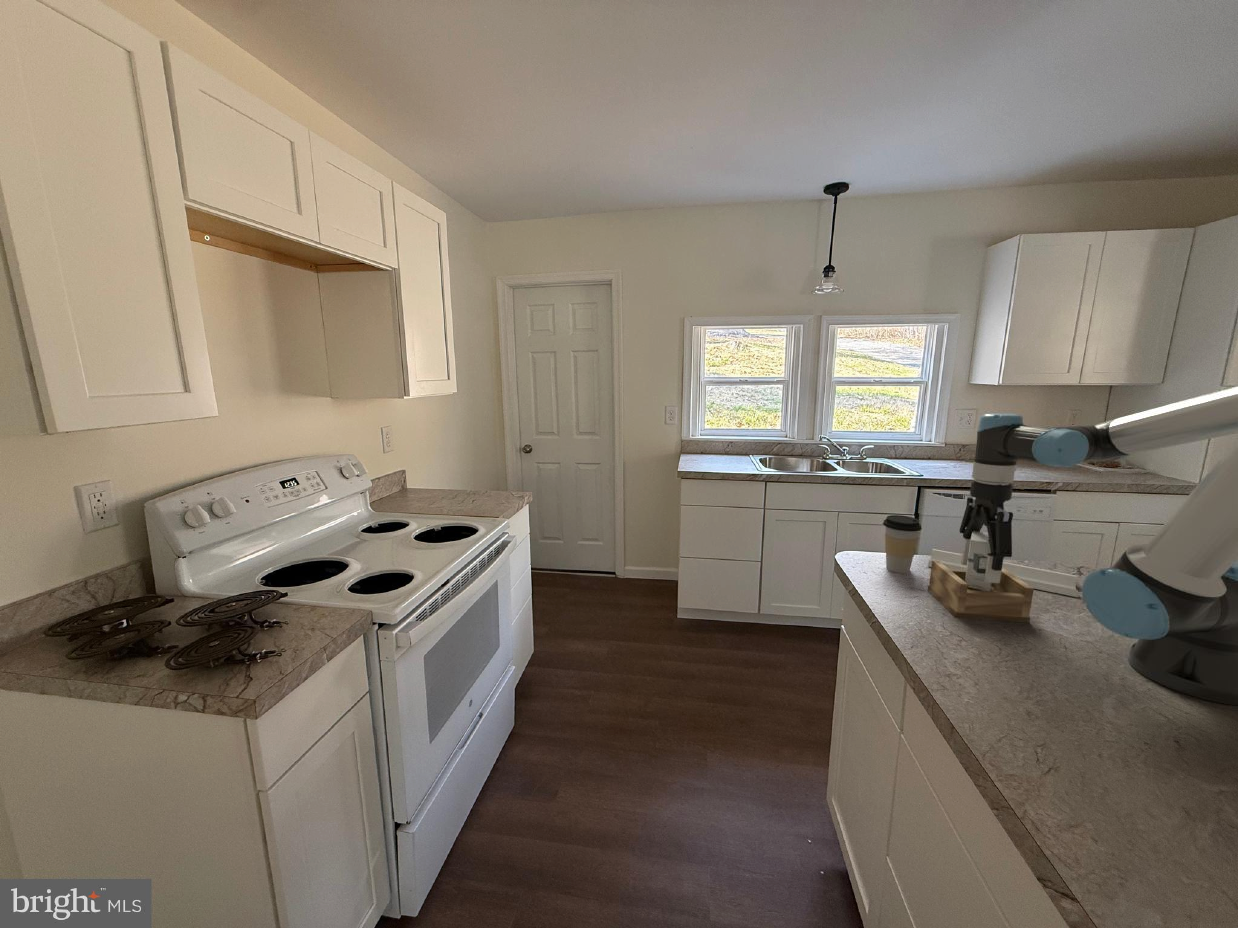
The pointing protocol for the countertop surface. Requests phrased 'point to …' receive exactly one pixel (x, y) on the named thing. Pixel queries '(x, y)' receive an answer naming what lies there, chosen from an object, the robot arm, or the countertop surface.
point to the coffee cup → (900, 542)
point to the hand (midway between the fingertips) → (979, 572)
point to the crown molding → (1019, 574)
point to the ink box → (978, 561)
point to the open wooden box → (981, 595)
